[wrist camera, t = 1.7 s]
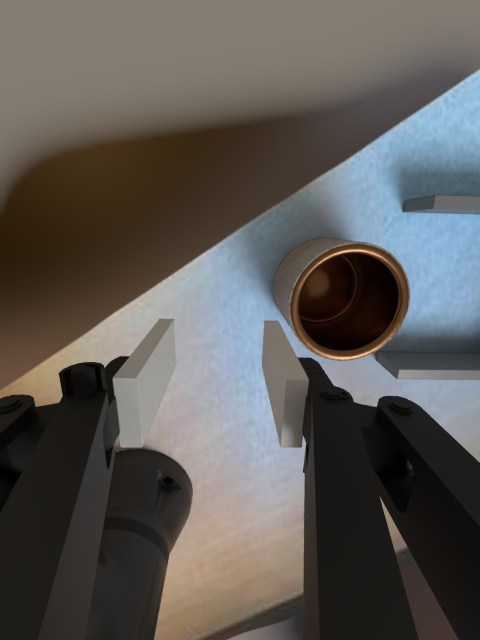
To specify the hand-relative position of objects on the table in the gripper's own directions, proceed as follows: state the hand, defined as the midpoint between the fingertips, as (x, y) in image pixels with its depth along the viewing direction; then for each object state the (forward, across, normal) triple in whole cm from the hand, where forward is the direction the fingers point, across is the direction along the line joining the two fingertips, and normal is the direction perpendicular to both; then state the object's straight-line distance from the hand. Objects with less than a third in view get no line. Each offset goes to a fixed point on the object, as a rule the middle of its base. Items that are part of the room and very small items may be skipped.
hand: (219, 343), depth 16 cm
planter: (+19, -11, 0) cm, 22 cm away
